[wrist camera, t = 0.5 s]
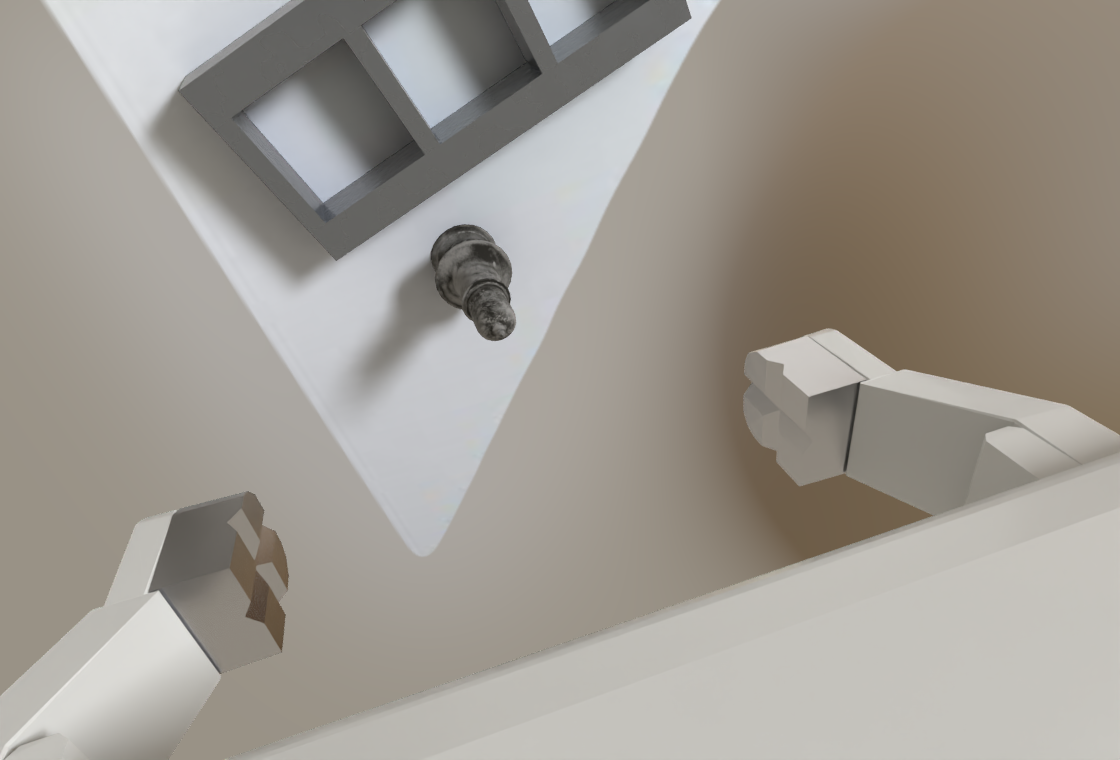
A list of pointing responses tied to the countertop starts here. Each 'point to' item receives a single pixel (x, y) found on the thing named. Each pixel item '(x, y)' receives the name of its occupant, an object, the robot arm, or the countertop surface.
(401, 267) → the countertop surface
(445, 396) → the countertop surface
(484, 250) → the grey stone finial
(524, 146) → the countertop surface
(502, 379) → the countertop surface
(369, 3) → the grey rectangular frame piece
